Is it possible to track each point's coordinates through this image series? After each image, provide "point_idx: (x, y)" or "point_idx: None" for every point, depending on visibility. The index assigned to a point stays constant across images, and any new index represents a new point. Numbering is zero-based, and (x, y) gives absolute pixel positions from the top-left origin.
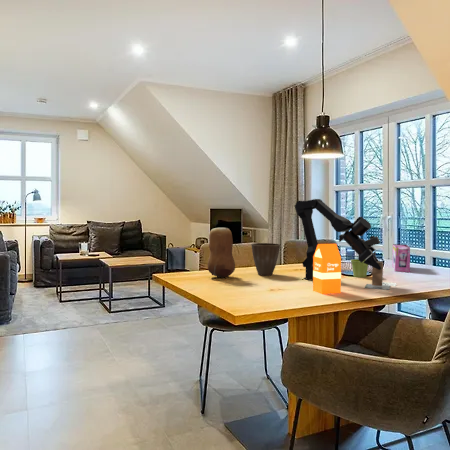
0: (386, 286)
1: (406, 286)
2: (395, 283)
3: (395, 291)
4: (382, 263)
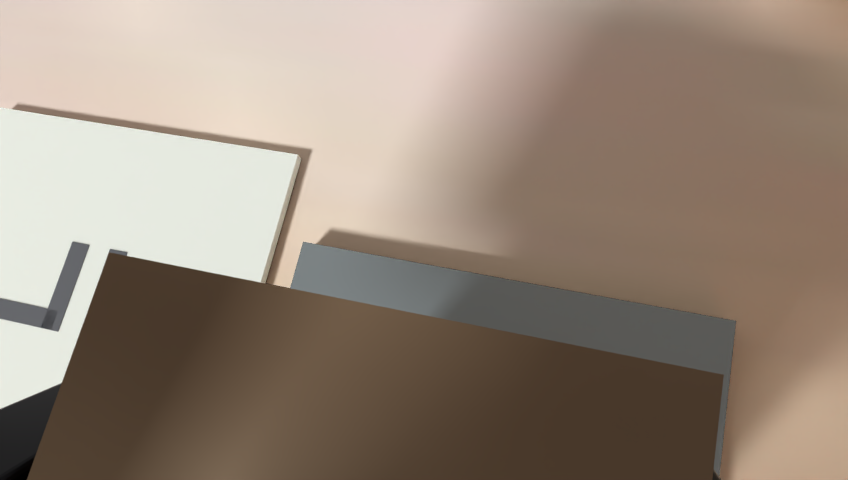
0: None
1: (235, 5)
2: (41, 127)
3: (770, 225)
4: (554, 349)
